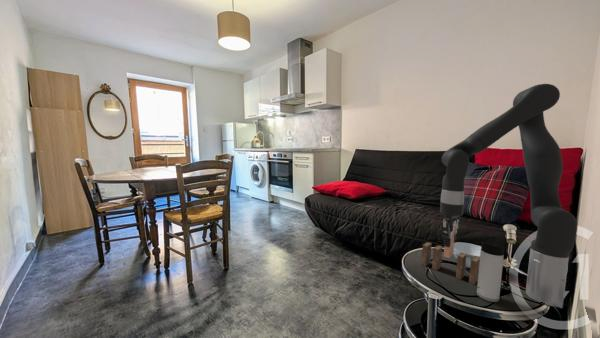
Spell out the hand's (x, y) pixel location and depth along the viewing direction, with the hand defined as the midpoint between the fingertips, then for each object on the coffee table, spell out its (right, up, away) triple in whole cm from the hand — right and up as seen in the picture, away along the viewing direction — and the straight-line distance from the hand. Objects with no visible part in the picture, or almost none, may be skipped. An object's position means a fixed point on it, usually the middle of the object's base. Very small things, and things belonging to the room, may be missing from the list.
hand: (449, 244), depth 91 cm
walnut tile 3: (+8, -15, +5) cm, 18 cm away
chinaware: (+19, -15, +16) cm, 29 cm away
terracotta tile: (0, -4, 0) cm, 4 cm away
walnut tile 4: (+11, -15, +2) cm, 19 cm away
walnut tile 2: (+2, -14, +12) cm, 19 cm away
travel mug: (+9, -16, -8) cm, 20 cm away
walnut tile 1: (-1, -14, +16) cm, 21 cm away
